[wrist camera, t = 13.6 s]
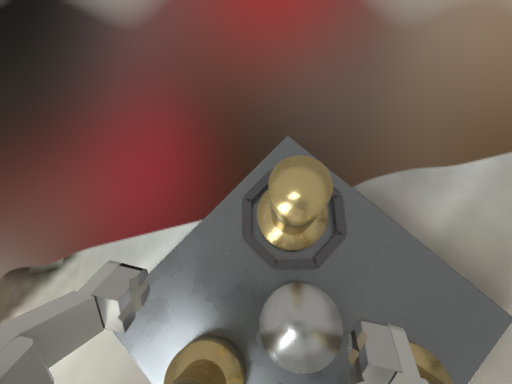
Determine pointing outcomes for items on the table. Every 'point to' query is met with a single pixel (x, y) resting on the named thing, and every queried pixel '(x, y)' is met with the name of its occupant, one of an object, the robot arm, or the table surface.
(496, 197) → the table surface
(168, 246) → the table surface
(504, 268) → the table surface
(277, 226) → the gold flared cylinder
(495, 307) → the carrier plate
